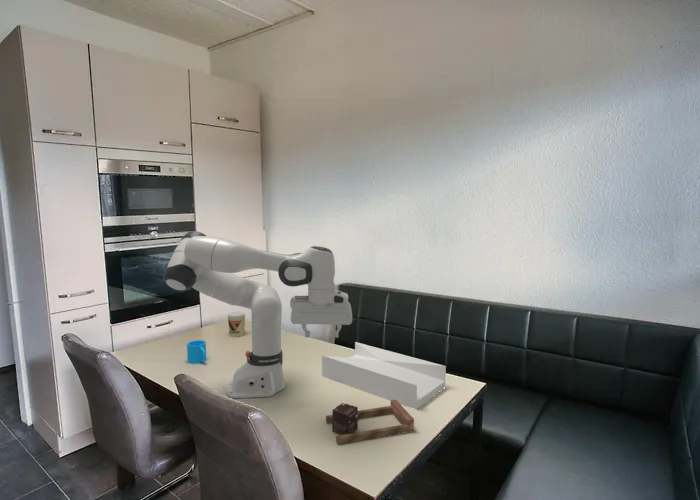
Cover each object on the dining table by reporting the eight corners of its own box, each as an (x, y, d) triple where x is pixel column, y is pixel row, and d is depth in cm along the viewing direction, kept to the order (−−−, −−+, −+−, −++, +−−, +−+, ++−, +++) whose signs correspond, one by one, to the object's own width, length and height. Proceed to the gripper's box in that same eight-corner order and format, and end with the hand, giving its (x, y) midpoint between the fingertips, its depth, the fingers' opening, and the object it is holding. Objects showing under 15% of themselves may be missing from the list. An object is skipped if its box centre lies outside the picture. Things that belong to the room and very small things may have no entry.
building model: (445, 389, 160) (445, 366, 159) (416, 411, 143) (416, 385, 142) (355, 361, 188) (355, 341, 187) (322, 377, 171) (321, 355, 170)
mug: (184, 360, 188) (183, 343, 187) (201, 355, 194) (200, 339, 193) (196, 367, 180) (196, 349, 179) (213, 362, 186) (213, 344, 185)
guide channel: (337, 445, 122) (337, 432, 121) (325, 421, 135) (325, 409, 134) (413, 431, 129) (414, 419, 129) (395, 410, 142) (395, 399, 142)
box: (348, 438, 125) (348, 415, 125) (331, 432, 129) (331, 409, 128) (358, 428, 130) (358, 406, 130) (342, 423, 134) (342, 402, 133)
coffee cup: (225, 337, 222) (224, 315, 221) (232, 332, 231) (232, 311, 230) (241, 338, 220) (240, 316, 219) (248, 332, 230) (247, 311, 228)
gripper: (288, 297, 132) (288, 339, 133) (351, 298, 131) (351, 340, 132) (291, 293, 138) (292, 333, 139) (352, 294, 137) (352, 334, 138)
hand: (321, 336), depth 136 cm, fingers open, 8 cm apart
